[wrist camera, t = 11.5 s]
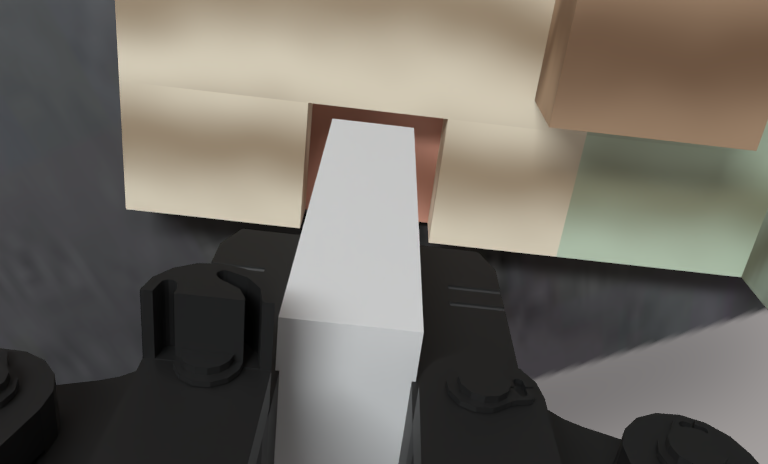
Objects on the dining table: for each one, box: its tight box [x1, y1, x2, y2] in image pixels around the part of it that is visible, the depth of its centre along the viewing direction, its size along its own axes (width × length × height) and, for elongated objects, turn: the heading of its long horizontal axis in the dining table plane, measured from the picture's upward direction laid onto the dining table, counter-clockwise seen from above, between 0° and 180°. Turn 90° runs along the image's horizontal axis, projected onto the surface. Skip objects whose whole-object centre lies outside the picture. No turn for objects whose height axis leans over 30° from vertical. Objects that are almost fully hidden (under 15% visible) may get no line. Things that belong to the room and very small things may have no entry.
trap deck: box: [115, 0, 768, 310], centre depth 29 cm, size 20×30×6 cm, turn 84°
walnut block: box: [535, 0, 768, 151], centre depth 28 cm, size 6×8×4 cm
